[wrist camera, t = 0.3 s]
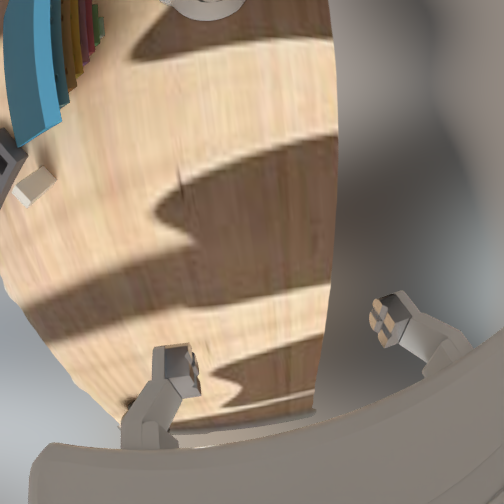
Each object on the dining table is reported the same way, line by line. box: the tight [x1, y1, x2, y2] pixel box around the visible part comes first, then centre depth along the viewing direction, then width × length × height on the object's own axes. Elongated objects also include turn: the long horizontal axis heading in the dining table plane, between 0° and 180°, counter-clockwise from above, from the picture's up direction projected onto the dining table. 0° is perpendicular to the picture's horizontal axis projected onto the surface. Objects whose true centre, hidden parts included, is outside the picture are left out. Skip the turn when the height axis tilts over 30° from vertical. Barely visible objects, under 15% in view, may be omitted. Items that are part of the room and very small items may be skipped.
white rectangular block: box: [12, 166, 57, 208], centre depth 42 cm, size 5×2×12 cm, turn 37°
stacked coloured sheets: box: [3, 0, 105, 148], centre depth 27 cm, size 35×18×35 cm
